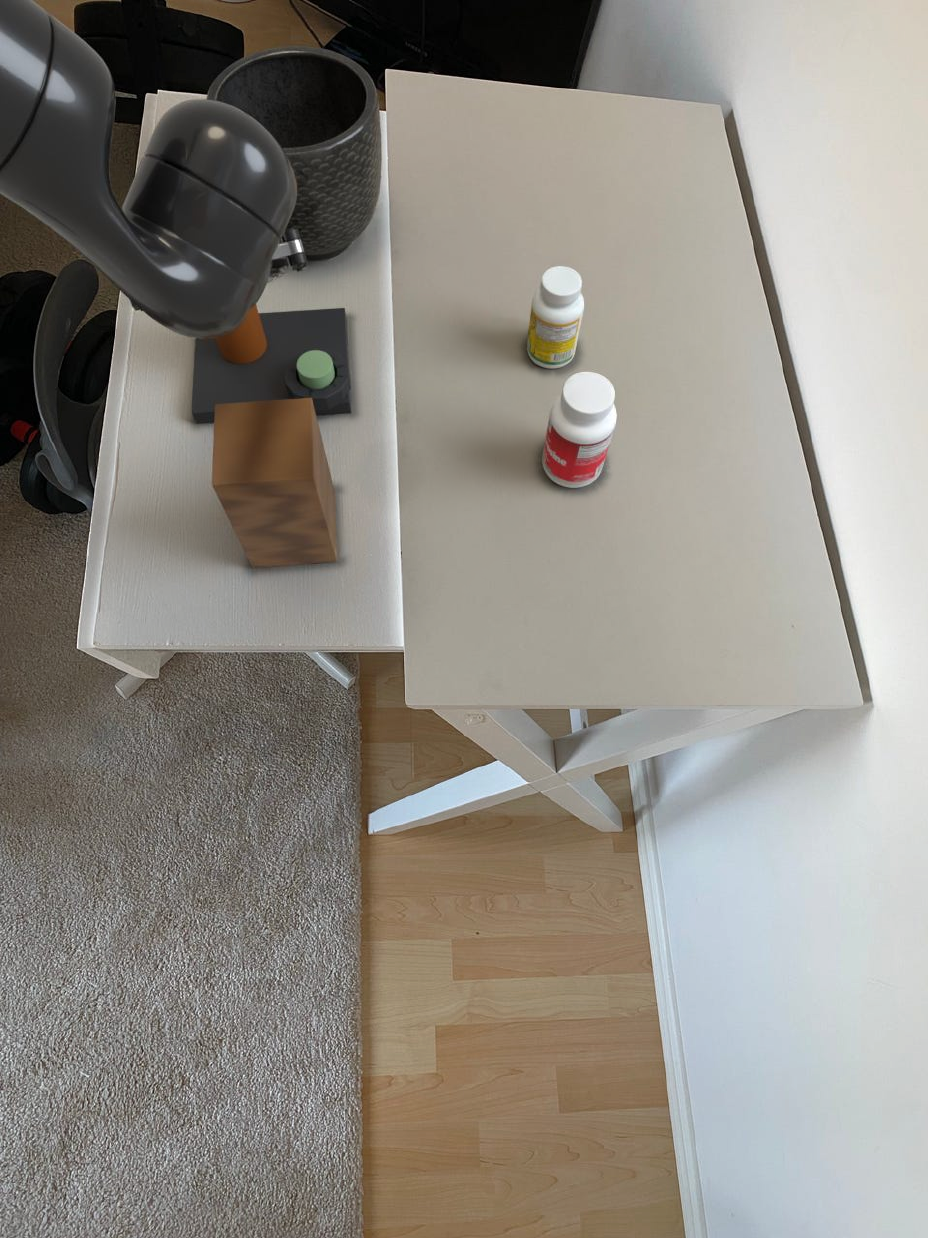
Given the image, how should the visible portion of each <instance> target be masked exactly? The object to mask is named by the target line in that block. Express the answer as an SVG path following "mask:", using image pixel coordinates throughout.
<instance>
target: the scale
mask: <svg viewBox="0 0 928 1238" xmlns="http://www.w3.org/2000/svg"><path fill="white" fill-rule="evenodd" d="M258 313H259V316H260V320H261V323H262V327H263V330H264V333H265V337H266V340H267V347H266V350H265V352H264V354H263V355H262V356H261V357H260V358H258V359H257V360H255V361H253V362H250V363H246V364H236V363H232V362H229V361H228V360H226V359H225V358H224V357H223V356H222V355H221V353H220V350H219V347H218V345H217V342H216V339H215V338H213V339H197V338H194V356H193V375H192V376H193V377H192V393H191V395H192V397H191V415H192V417H193V420H194V422H195V424H198V425H199V424H214V415H215V404H228V403H243V402H257V401H271V400H286V399H300V398H312V401H313V405H314V409H315V413H316V416H324V415H325V416H326V415H338V414H351V413H352V403H351V401H352V400H351V399H352V398H351V390H352V382H351V373H350V361H349V359H350V358H349V341H348V323H347V322H348V319H347V313H346V308H345V307H334V308H320V309H306V310H305V309H303V310H288V311H287V310H286V311H274V312H258ZM312 350H319V351H323V352H325V353H327V354H328V355H329V356H330V357H331V359H332V362H333V367H334V372H335V377H334V380H333V382H332V383H331V384H330V385H329V386H327V387H325V388H323V389H310V388H307V387H305V386H304V385H303V384H302V383H301V381H300V378H299V374H298V371H297V361H298V359H299V357H300V356H301V355H302V354H304V353H306V352H308V351H312Z"/></svg>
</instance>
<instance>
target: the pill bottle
mask: <svg viewBox="0 0 928 1238" xmlns="http://www.w3.org/2000/svg"><path fill="white" fill-rule="evenodd" d="M615 398H616V391H615V387H614V385H613V383H612V382H611V381H610V380H609V379H608V378H606V377H605V376H604V375H602V374H600V373H597V372H593V371H579V372H577V373H574V374H572V375H570V377H568V378H567V379H566V381H565V382H564V383H563V386H562V390H561V393H559V394H558V395H557V396H556V398H555V399H554V401H552V405H551V407H550V411H549V416H548V422H547V427H546V434H545V439H544V446H543V449H542V450H543V451H542V456H541V457H542V458H541V460H542V461H541V462H542V467H543V470H544V473H545V474H546V475H547V476H548V478H549V479H550V480H551V481H553V482H554V483H555V484H557V485H559V486H562V487H565V488H570V489H578V488H583V487H586V486H588V485H590V484H592V483H593V482H595V481H596V480H597V479H598V478H599V477H600V475H601V473H602V471H603V468H604V465H605V461H606V458H607V454H608V451H609V447H610V445H611V441H612V438H613V435H614V432H615V428H616V424H617V419H618V418H617V417H618V415H617V409H616V406H615V404H614V403H615Z"/></svg>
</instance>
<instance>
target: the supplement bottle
mask: <svg viewBox="0 0 928 1238" xmlns="http://www.w3.org/2000/svg"><path fill="white" fill-rule="evenodd" d="M582 286H583V280H582V277H581V275H580V274H579V272H578V271H576V270H575V269H573V268H572V267H569V266H564V265H558V266H551V267H550V268H548V269H547V270H546V271H544V272H543V274H542V277H541V280H540V286H539V288H538V289H536V290H535V292H534V294H533V296H532V300H531V307H530V315H529V316H530V317H529V324H528V333H527V339H526V340H527V341H526V350H527V354H528V356H529V358H530V359H531V361H532V362H533V363H534V364H535V365H537V366H539V367H542V368H545V369H559V368H562V367H565V366H567V365H568V364H570V363H571V362H572V360H573V359H574V357H575V354H576V350H577V345H578V342H579V341H578V340H579V336H580V332H581V331H580V330H581V324H582V320H583V315H584V310H585V299H584V295H583V294H582Z"/></svg>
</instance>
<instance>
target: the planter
mask: <svg viewBox="0 0 928 1238" xmlns="http://www.w3.org/2000/svg"><path fill="white" fill-rule="evenodd" d="M205 99H208V100H215V101H220V102H223V103H226V104H229V105H231V106H234V107H236V108H238V109H240V110H242V111H243V112H245V113H247V114H248V115H250V116H251V117H253V118H254V119H255V120H257V121H258V122H259V123H260V124H262V125H263V126H264V127H265V128H266V129H267V130H268V131H269V132H270V133H271V134H272V135H273V137H274V138H275V139H276V140H277V142H278V143H279V144H280V146H281V147H282V149H283V150H284V152H285V153H286V155H287V157H288V159H289V161H290V163H291V165H292V168H293V170H294V173H295V177H296V182H297V201H296V205H295V208H294V211H293V213H292V216H291V218H290V220H289V222H288V225H287V227H286V229H289V228H293V229H298V231H299V235H300V238H301V241H302V245H303V248H304V252H305V255H306V258H307V261H308V262H309V261H310V262H318V261H325V260H329V259H332V258H335V257H337V256H339V255H340V254H342V253H343V252H345V251H346V250H347V249H348V248H349V247H350V246H351V244H352V243H353V242H354V241H356V239H358V238H359V237H360V236H361V234H362V233H364V231H365V230H366V229H367V227H368V226H369V224H370V222H371V221H372V219H373V217H374V215H375V211H376V208H377V205H378V202H379V199H380V198H379V197H380V191H381V183H382V166H383V165H382V164H383V154H382V153H383V152H382V151H383V149H382V145H383V144H382V126H381V114H380V113H381V111H380V103H379V102H380V101H379V95H378V90H377V88H376V85H375V82H374V80H373V79H372V77H371V75H370V74H369V73H368V72H367V71H366V70H365V68H363V67H362V66H361V65H360V64H359V63H357V62H356V61H354V60H353V59H351V58H350V57H347V56H345V55H343V54H341V53H339V52H336V51H333V50H330V49H326V48H320V47H315V46H308V45H307V46H306V45H305V46H304V45H291V46H290V45H289V46H279V47H273V48H268V49H264V50H260V51H259V50H258V51H256V52H253V53H251V54H249V55H246V56H244V57H242V58H240V59H238V60H236V61H234V62H233V63H232V64H230V65H229V66H227V67H226V68H225V69H223V71H221V73H220V74H218V76H216V78H215V79H214V80H213V82H212V83H211V85H210V86H209V89H208V91H207V95H206V98H205ZM286 229H285V231H287V230H286ZM285 231H284V232H285Z"/></svg>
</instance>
